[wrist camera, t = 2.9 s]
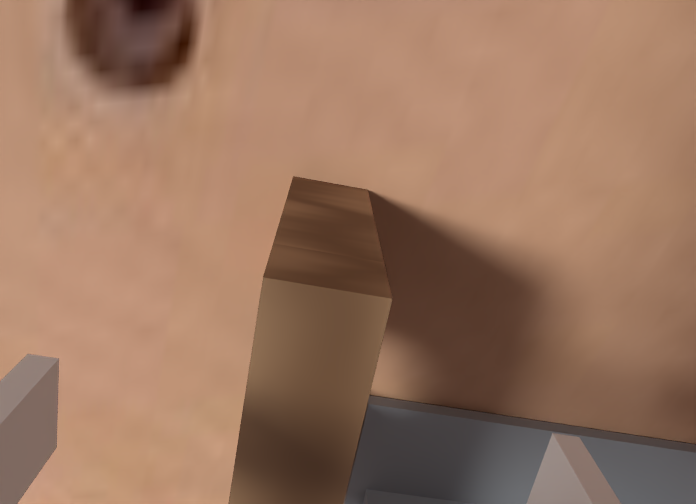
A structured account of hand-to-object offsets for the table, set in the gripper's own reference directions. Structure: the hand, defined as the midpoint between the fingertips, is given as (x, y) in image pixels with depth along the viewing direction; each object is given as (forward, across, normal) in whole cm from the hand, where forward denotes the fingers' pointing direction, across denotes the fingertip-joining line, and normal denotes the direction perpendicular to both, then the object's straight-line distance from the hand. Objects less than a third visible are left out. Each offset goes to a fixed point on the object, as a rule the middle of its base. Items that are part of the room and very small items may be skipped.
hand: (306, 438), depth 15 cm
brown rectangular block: (+13, 0, -4) cm, 14 cm away
